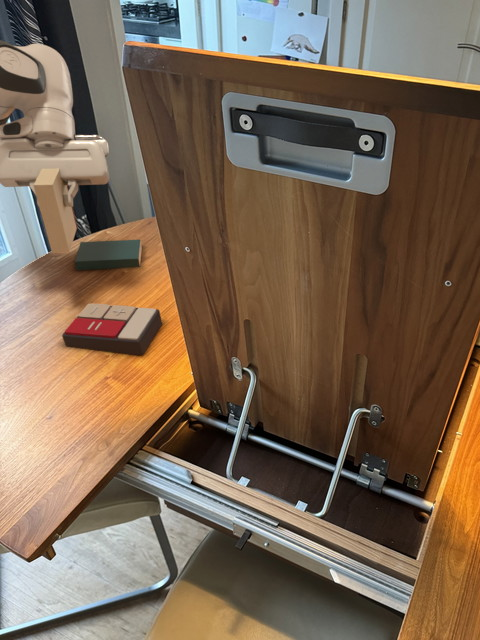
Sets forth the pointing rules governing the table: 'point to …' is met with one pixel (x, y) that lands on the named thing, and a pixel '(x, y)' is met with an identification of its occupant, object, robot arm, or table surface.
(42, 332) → the table surface
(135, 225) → the table surface
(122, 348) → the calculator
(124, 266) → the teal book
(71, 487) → the table surface
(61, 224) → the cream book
